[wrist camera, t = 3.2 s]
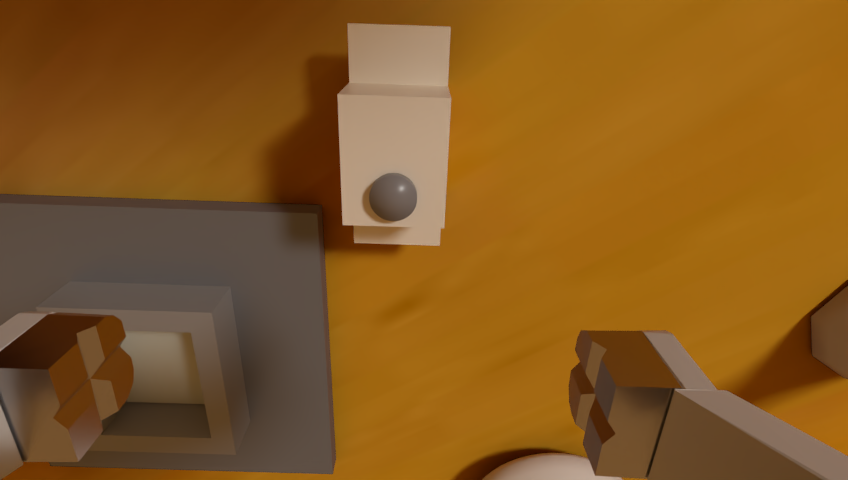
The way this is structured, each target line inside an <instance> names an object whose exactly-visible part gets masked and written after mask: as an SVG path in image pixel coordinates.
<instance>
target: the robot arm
mask: <svg viewBox="0 0 848 480" xmlns="http://www.w3.org/2000/svg"><path fill="white" fill-rule="evenodd" d="M125 337H126V334H125V331H124V328H123V324H122V321H121V320H120V319H119V318H117V317H116V316H114V315H102V314H82V313H63V312H57V313H55V312H36V311H29V312H22V313H18V314H16V315H15V316H14V317H12V318H11V319H9V320H8V321H7V322H5V323H4V324H2V325H1V326H0V480H1V479H3V478H4V477H6V476H7V475H9V474H10V473H12V472H13V471H15V470H16V469H18V468H19V467H21V466H22V465H23V462H79V460H80V459H81V458H82V457H83V455H84V454H85V453H86V452H87V450H88V449H89V448H90V447H91V445H92V444H93V443H94V442H95V440H96V439H97V438H98V436H99V435H100V434H101V433H102V431H103V425H102V420H103V419H105V418H107V417H109V416H110V415H112V414H114V413H116V412H117V411H119V410H120V408H121V407H122V406H123V404H124V403H125V402H126V400H127V399H128V397H129V394H130V391H131V388H132V385H133V380H134V368H133V363H132V359H131V357H130V356H129V355H128V354H127V353H126V352H125V351H124V350H123V349H122V348H121V347H120V345H121V344H122V342H123V341H124V339H125ZM575 351H576V353H577V356H578V358H579V360H580V362H579V363H578V364H577V365H576V366H575V367H574V368H573V369H572V370H571V374H570V381H569V403H570V408H571V413H572V416H573V419H574V421H575V424H576V425H578V426H579V427H580V428H581V429H583V430H584V431H585V436H584V440H583V446H584V448H585V451H586V453H587V456H588V459H589V461H590V464H591V466H592V469H593V472H594V474H595V476H607V477H625V478H644V479H648V480H848V456H846V455H844V454H843V453H841V452H839V451H837V450H835V449H833V448H832V447H830V446H828V445H826V444H824V443H822V442H820V441H819V440H817V439H815V438H813V437H811V436H809V435H808V434H806V433H804V432H802V431H800V430H798V429H797V428H795V427H793V426H791V425H789V424H787V423H786V422H784V421H782V420H780V419H778V418H776V417H775V416H773V415H771V414H769V413H767V412H765V411H764V410H762V409H760V408H758V407H756V406H754V405H753V404H751V403H749V402H747V401H745V400H743V399H742V398H740V397H738V396H736V395H734V394H732V393H731V392H729V391H726V390H717V389H716V388H715V387H714V385H713V384H712V383H711V382H710V380H709V379H708V378H707V377H706V375H705V374H704V373H703V372H702V370H701V369H700V368H699V367H698V365H697V364H696V363H695V362H694V360H693V359H692V358H691V357H690V355H689V354H688V353H687V352H686V350H685V349H684V348H683V347H682V345H681V344H680V343H679V342H678V340H677V339H676V338H675V337H674V335H673V334H672V333H670V332H668V331H666V330H664V331H587V330H581V332H580V334H579V336H578V338H577V343H576V348H575Z"/></svg>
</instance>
